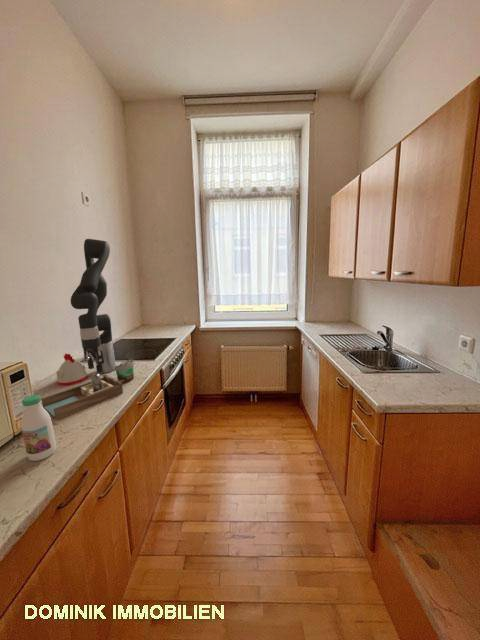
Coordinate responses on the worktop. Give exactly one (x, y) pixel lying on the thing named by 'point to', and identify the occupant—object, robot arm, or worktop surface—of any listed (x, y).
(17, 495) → the worktop surface
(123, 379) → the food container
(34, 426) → the milk bottle
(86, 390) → the grey beige boxy piece
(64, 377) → the kitchen timer
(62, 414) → the bay
